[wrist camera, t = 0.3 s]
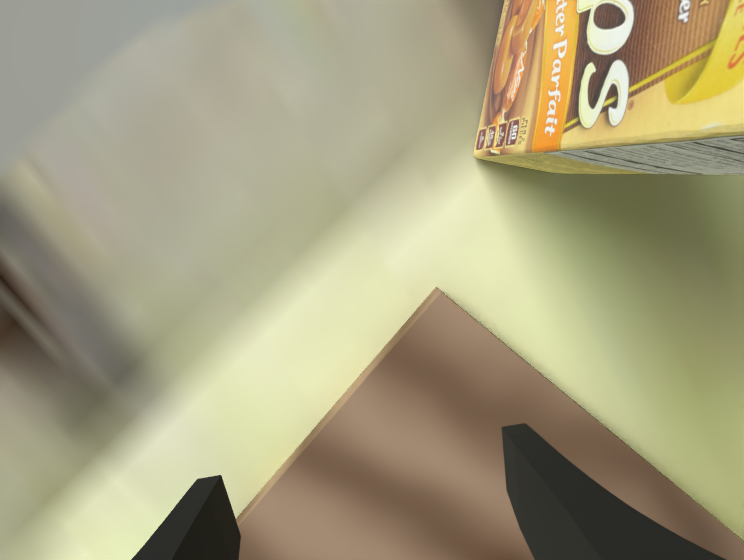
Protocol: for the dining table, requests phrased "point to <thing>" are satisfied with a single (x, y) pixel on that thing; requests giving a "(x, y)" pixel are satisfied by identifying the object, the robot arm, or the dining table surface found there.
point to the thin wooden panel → (444, 458)
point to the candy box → (617, 87)
